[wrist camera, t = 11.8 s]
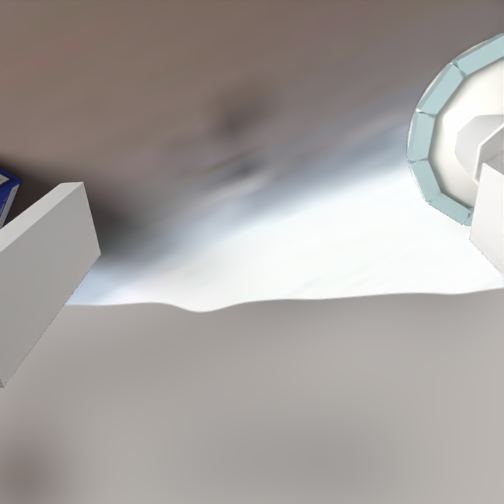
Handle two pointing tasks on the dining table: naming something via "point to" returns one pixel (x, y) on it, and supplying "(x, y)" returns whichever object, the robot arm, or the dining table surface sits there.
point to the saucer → (447, 118)
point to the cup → (478, 142)
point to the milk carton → (7, 193)
